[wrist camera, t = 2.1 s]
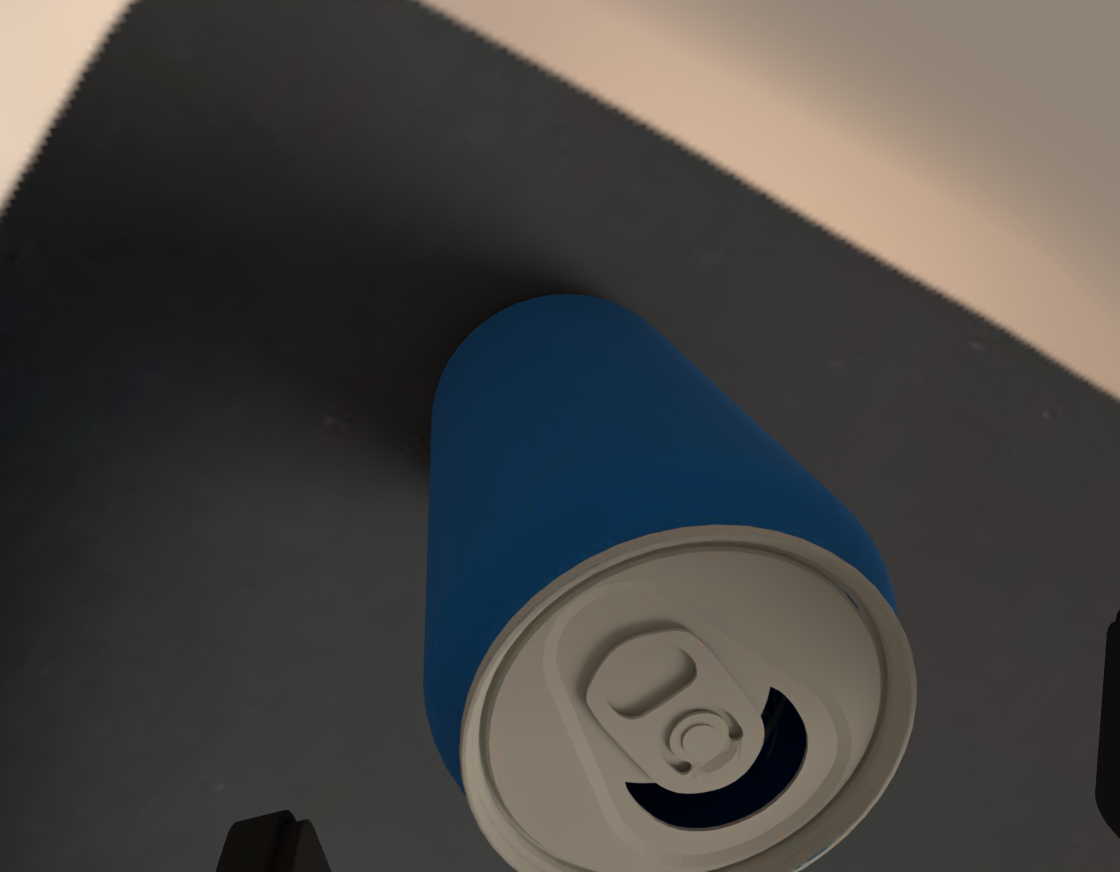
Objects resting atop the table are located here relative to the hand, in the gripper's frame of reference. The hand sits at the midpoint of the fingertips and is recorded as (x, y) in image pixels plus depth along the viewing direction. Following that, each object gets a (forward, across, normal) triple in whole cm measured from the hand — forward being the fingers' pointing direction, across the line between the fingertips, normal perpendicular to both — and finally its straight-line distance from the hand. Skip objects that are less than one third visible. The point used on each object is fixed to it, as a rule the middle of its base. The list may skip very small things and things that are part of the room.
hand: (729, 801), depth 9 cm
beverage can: (+13, 0, -1) cm, 13 cm away
